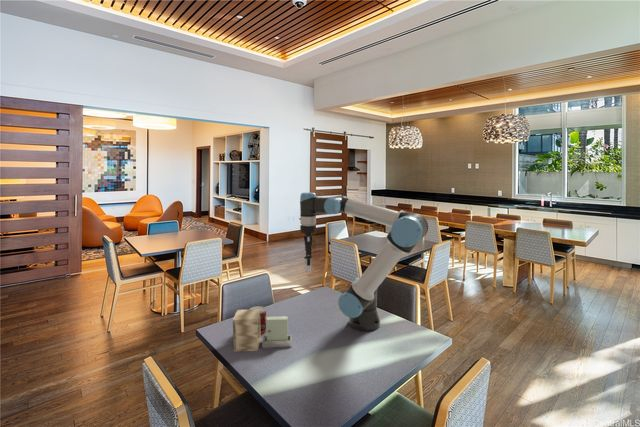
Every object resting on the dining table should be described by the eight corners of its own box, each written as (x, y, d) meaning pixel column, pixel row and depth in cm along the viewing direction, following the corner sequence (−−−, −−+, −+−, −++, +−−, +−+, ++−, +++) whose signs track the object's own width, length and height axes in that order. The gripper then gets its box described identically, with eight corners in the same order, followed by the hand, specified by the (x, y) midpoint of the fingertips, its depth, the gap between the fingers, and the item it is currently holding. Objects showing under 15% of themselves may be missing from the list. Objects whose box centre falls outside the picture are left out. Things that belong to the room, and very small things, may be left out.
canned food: (263, 336, 150) (262, 313, 149) (246, 334, 152) (246, 312, 150) (268, 328, 157) (268, 306, 156) (253, 327, 159) (252, 305, 158)
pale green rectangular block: (287, 342, 145) (287, 316, 144) (287, 346, 141) (287, 320, 140) (267, 342, 144) (267, 316, 143) (266, 347, 141) (266, 320, 139)
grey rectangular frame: (292, 340, 146) (292, 334, 146) (291, 346, 141) (291, 341, 141) (263, 341, 146) (263, 335, 145) (262, 347, 140) (262, 342, 140)
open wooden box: (260, 338, 148) (259, 309, 146) (257, 350, 138) (257, 319, 136) (238, 339, 147) (237, 309, 145) (233, 351, 137) (232, 319, 135)
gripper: (300, 221, 169) (300, 260, 172) (300, 229, 144) (300, 275, 147) (314, 220, 169) (314, 260, 172) (317, 229, 145) (317, 275, 147)
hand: (308, 267), depth 159 cm, fingers open, 13 cm apart
